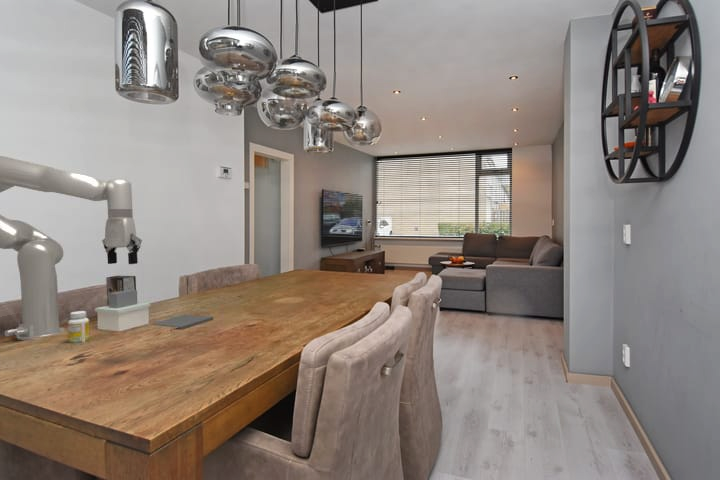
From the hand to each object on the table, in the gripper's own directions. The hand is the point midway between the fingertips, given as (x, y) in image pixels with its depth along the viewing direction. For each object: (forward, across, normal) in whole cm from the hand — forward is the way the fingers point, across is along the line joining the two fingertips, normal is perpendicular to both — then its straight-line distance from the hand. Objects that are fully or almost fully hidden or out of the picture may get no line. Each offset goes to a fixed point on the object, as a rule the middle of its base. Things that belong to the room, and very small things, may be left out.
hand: (122, 263), depth 144 cm
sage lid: (+17, 0, -1) cm, 17 cm away
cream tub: (+23, 0, -1) cm, 23 cm away
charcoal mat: (+23, +14, +12) cm, 30 cm away
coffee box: (+23, -18, +14) cm, 32 cm away
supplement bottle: (+23, +3, -19) cm, 30 cm away
